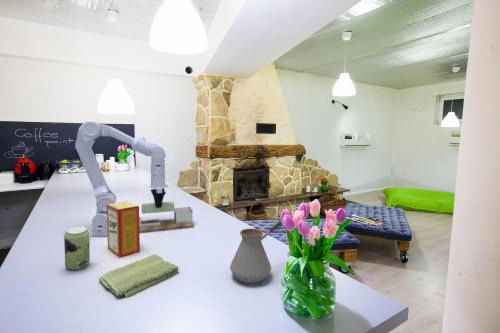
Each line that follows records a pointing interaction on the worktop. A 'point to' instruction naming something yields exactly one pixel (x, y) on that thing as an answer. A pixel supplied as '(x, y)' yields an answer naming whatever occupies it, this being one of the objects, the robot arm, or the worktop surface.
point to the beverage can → (76, 247)
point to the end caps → (180, 217)
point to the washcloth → (138, 275)
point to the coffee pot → (251, 257)
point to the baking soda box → (123, 228)
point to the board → (166, 226)
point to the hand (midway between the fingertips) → (158, 206)
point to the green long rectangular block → (152, 208)
